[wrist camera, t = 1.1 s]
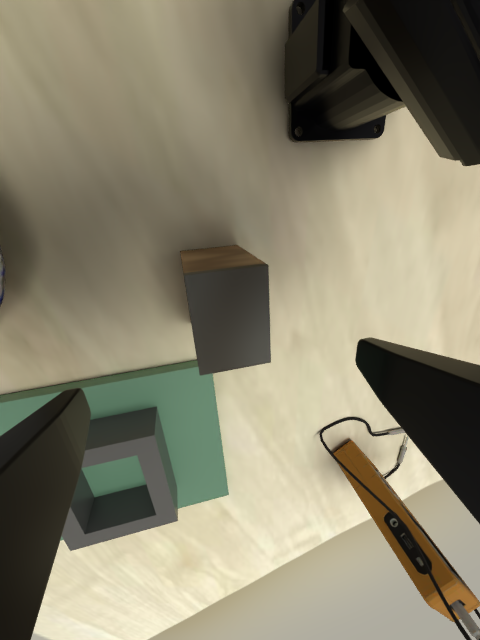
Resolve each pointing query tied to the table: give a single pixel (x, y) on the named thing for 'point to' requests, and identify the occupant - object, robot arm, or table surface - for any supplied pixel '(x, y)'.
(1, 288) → the bowl
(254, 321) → the plug
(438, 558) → the multimeter
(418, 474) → the table surface
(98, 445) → the board
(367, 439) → the table surface
